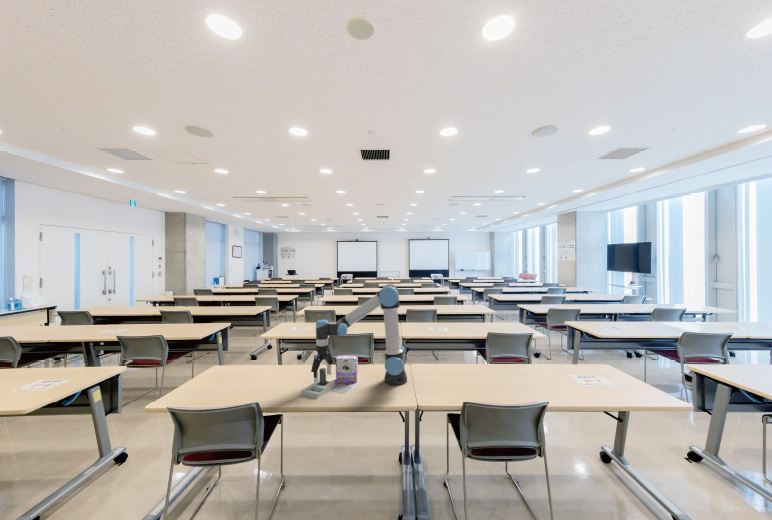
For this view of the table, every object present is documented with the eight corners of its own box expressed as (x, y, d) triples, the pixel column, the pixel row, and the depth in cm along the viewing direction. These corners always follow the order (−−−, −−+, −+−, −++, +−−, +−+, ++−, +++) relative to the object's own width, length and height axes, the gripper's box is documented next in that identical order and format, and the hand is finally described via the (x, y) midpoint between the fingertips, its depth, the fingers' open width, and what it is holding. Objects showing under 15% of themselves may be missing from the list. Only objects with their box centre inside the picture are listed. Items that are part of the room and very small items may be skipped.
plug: (327, 387, 201) (327, 368, 201) (323, 389, 197) (323, 370, 197) (322, 386, 203) (321, 367, 202) (318, 388, 199) (318, 369, 199)
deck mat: (352, 387, 200) (352, 387, 200) (343, 394, 191) (343, 393, 191) (338, 385, 204) (338, 384, 204) (330, 391, 195) (330, 390, 195)
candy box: (358, 379, 212) (357, 355, 212) (356, 383, 207) (356, 358, 206) (338, 379, 214) (337, 355, 213) (335, 382, 208) (335, 358, 208)
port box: (335, 386, 202) (334, 381, 202) (317, 398, 185) (317, 393, 185) (319, 383, 207) (319, 378, 207) (301, 395, 190) (301, 389, 190)
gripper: (328, 339, 212) (329, 370, 213) (304, 349, 190) (305, 384, 190) (338, 340, 209) (338, 372, 210) (314, 351, 187) (315, 386, 187)
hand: (322, 378), depth 200 cm, fingers open, 13 cm apart
